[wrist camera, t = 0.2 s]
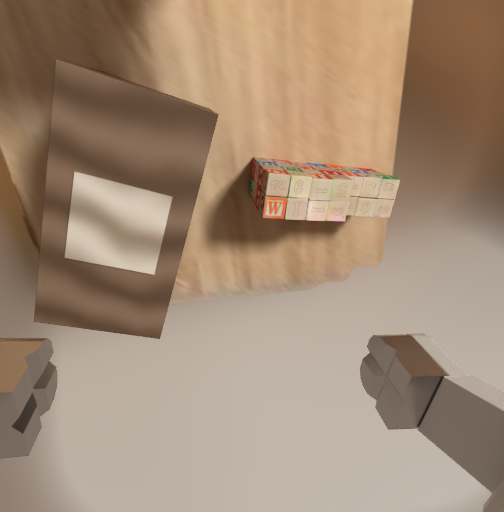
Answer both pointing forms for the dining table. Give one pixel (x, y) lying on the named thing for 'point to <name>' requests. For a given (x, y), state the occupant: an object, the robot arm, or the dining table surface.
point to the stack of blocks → (319, 191)
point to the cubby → (116, 201)
